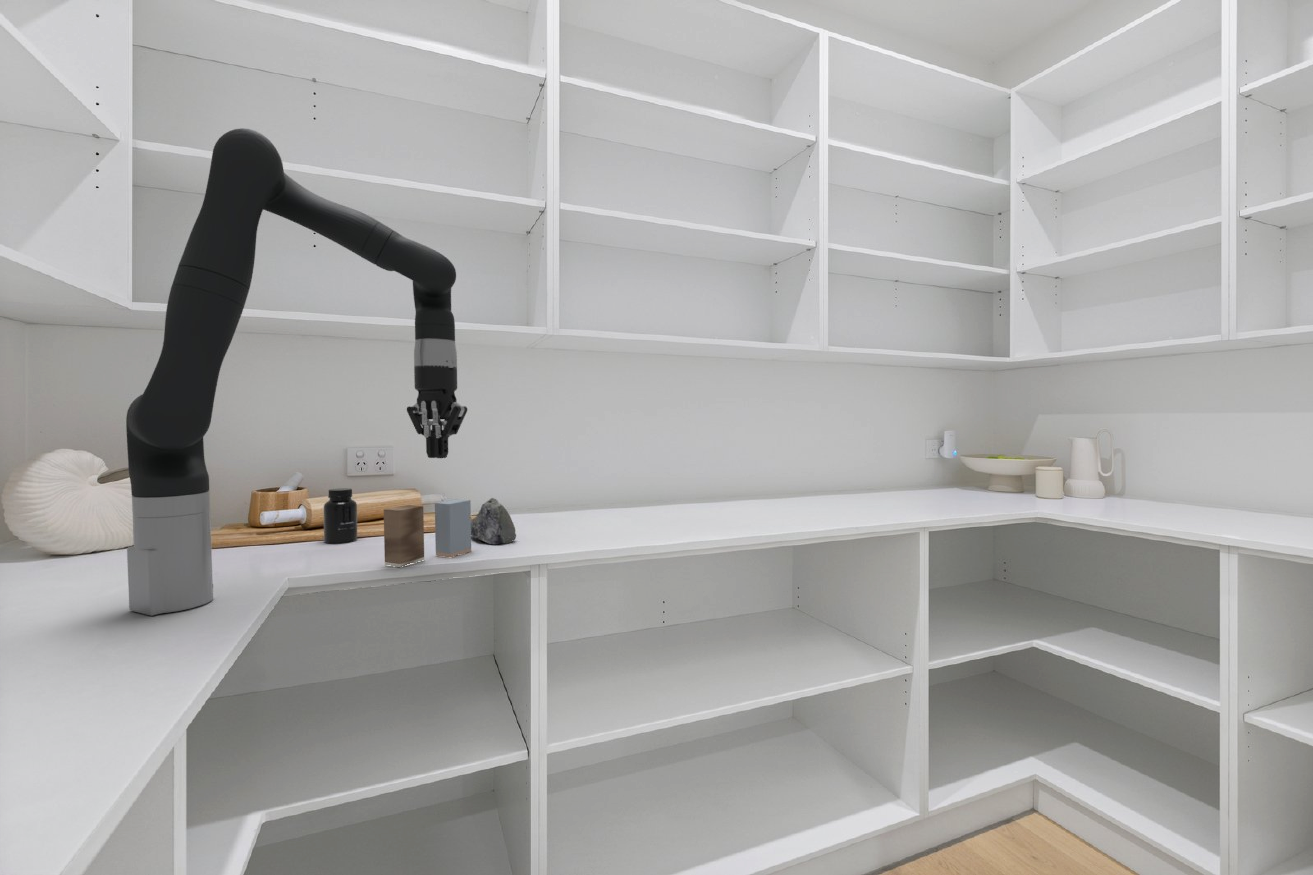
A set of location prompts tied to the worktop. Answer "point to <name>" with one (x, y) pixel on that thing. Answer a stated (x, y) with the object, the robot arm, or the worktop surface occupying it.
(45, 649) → the worktop surface
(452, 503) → the slate block
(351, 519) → the supplement bottle
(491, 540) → the mineral rock
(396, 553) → the walnut block
